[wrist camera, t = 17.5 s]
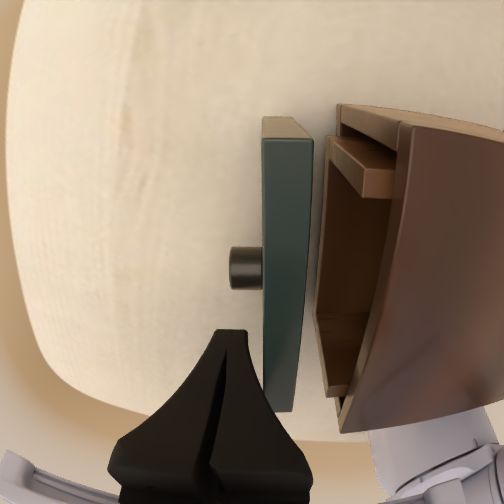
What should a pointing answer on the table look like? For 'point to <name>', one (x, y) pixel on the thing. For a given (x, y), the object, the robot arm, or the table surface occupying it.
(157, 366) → the table surface
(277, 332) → the drawer
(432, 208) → the cabinet
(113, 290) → the table surface
